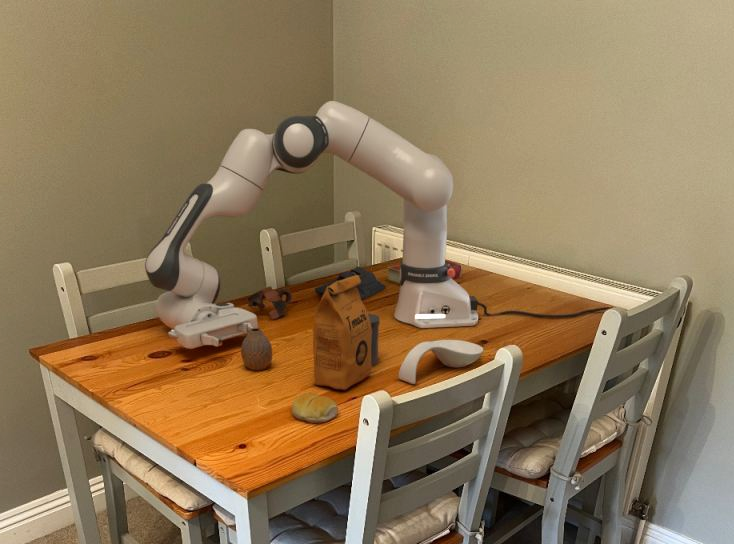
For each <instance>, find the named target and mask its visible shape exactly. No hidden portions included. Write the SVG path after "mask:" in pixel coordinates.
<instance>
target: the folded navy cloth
mask: <svg viewBox="0 0 734 544" xmlns="http://www.w3.org/2000/svg"><path fill="white" fill-rule="evenodd" d="M355 275H358V276H359V278H360V280H361V283H360V284H359V285H357V286H356V288H357V289H358V291H359V294H360V298H361V300H364V299H367V298H368V297H371V296H373V295H375V294H377V293H379V292H381V291H383V290H384V289H386V285H385V284H384V283H382V281H381V280H378V279H377V277H376V275H375V274H374V273H373V272H372V271H369V270H367V269H364V268H362V267H361V266H356V267H354V268H352V269H350V271H344V272H340V273H339V274H338V277H336V278H335V279H334V280H332V281H328V282H326V283H323V284H322V285H319V286H316V287H314V293H316V294H317V295H321V296H323V295H324V293H325V291H326V288H327V287H328V286H330V285H332V284H333V283H335V282H336V281H340V280H343V279H346V278H349V277H352V276H355Z"/></svg>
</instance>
